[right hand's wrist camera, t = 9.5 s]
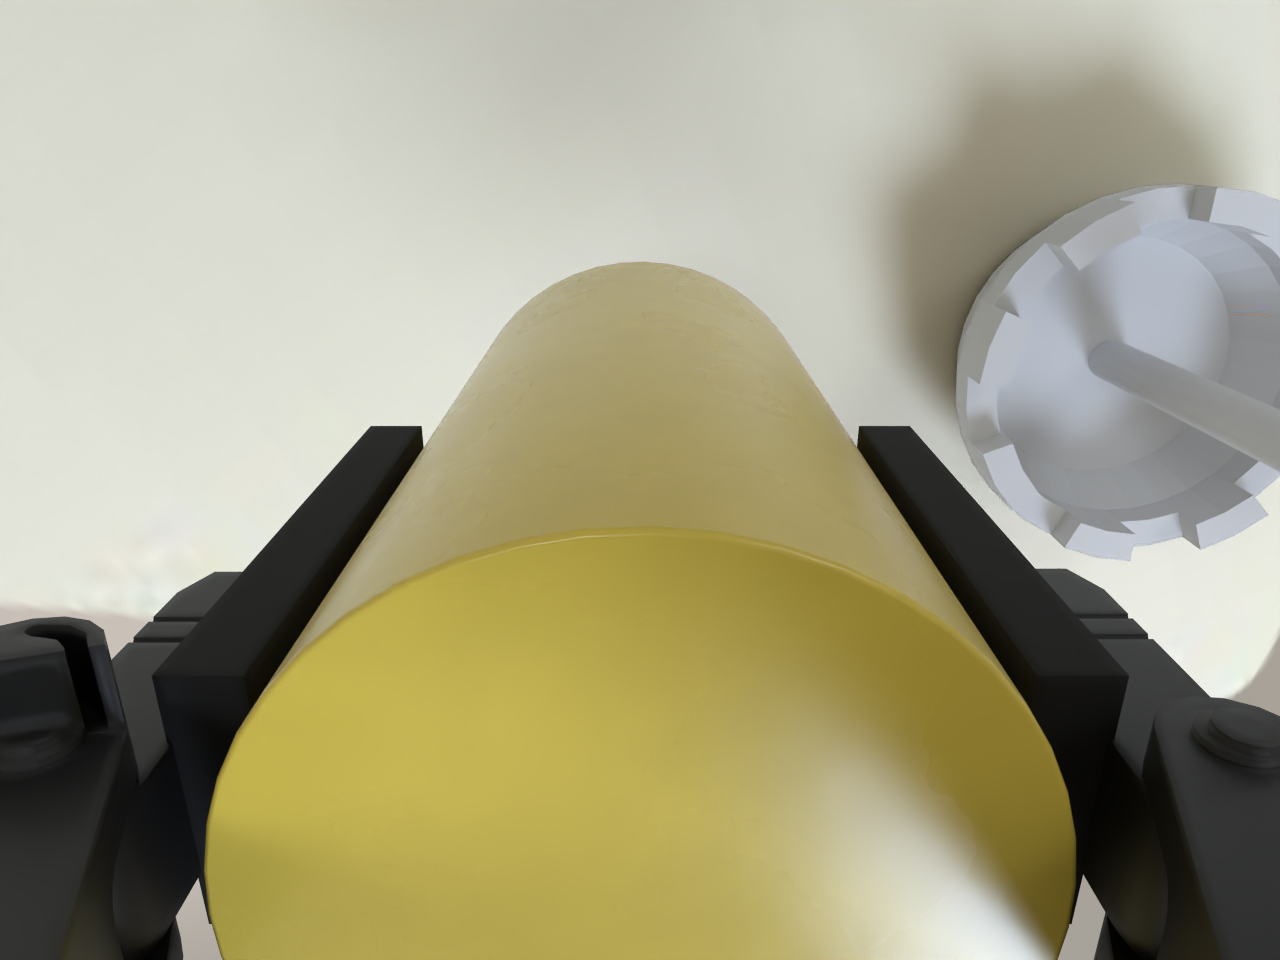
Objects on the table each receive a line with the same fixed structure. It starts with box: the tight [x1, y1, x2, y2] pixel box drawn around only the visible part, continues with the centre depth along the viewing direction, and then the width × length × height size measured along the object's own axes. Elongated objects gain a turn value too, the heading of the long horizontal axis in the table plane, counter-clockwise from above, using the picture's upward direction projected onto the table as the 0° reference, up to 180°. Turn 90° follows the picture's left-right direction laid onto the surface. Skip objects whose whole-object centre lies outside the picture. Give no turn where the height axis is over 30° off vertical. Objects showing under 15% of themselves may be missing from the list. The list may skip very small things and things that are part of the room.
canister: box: [204, 262, 1076, 960], centre depth 12 cm, size 6×6×12 cm
